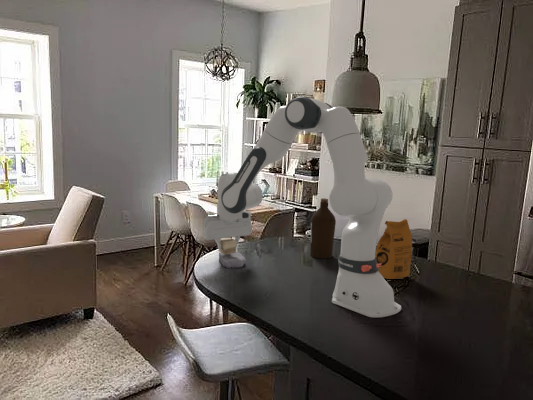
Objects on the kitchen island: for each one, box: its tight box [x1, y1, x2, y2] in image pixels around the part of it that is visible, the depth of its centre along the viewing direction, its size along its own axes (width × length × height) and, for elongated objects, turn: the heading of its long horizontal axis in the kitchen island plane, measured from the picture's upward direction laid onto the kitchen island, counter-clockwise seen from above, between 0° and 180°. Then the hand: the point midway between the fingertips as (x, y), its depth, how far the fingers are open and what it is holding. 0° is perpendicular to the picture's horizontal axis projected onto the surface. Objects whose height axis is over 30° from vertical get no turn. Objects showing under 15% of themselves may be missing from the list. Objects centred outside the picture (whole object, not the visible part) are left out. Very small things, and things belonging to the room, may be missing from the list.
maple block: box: [218, 237, 237, 254], centre depth 173 cm, size 5×5×5 cm
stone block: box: [218, 251, 246, 269], centre depth 175 cm, size 12×5×10 cm
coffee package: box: [375, 218, 413, 279], centre depth 164 cm, size 10×12×22 cm
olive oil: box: [309, 198, 337, 260], centre depth 188 cm, size 11×11×25 cm
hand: (227, 248), depth 173 cm, fingers closed on maple block, 5 cm apart
